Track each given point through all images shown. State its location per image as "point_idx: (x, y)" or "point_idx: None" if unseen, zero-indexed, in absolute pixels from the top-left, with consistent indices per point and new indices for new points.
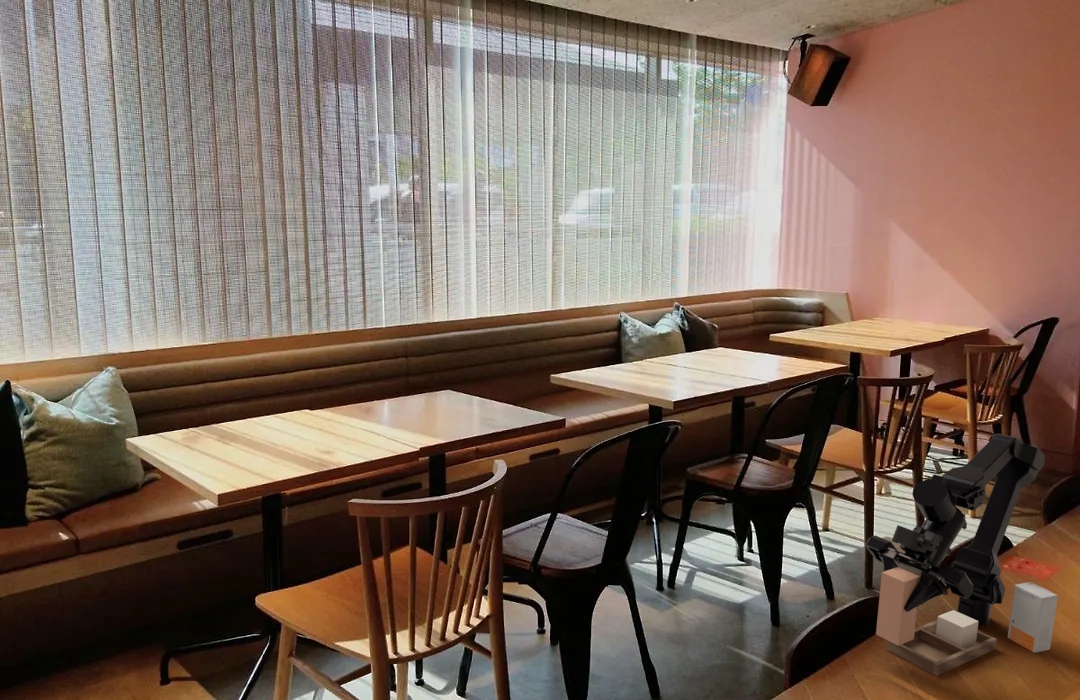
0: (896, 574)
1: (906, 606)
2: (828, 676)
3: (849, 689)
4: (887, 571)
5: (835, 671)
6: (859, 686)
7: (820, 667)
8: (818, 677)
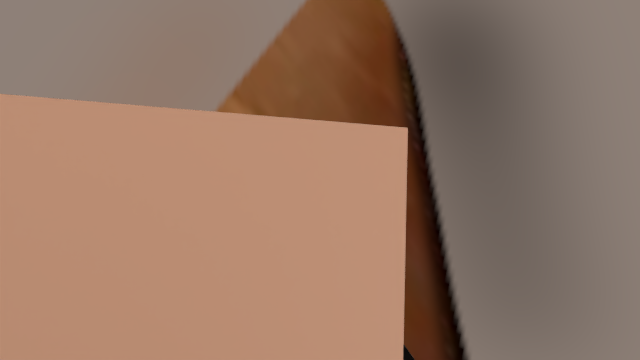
0: (88, 335)
1: None
2: (359, 77)
3: (265, 67)
4: (363, 306)
5: (367, 124)
6: (254, 110)
7: (415, 103)
8: (374, 45)
